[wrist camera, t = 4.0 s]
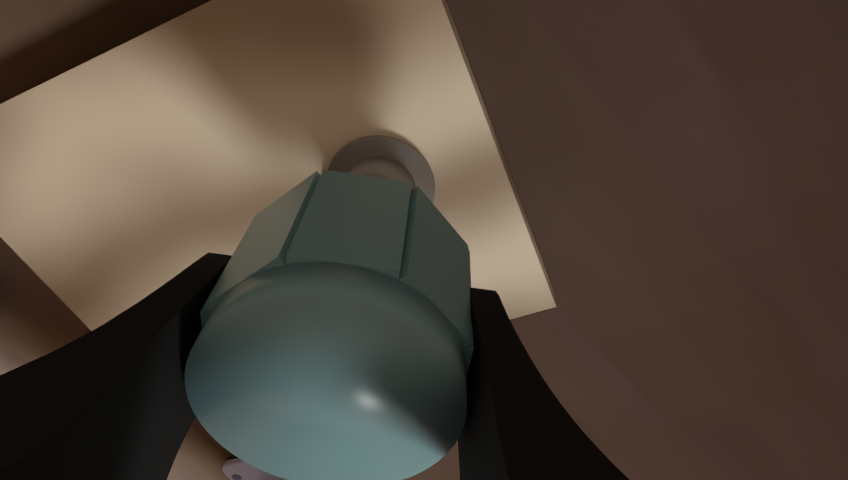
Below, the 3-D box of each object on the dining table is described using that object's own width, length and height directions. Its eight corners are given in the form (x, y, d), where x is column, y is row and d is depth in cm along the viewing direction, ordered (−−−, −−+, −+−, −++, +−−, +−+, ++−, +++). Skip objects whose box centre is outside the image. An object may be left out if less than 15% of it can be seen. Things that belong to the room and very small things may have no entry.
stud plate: (551, 286, 22) (569, 365, 18) (180, 391, 27) (137, 470, 23) (409, -98, 15) (394, -88, 12) (-59, 133, 20) (-172, 189, 16)
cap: (483, 192, 13) (493, 320, 10) (445, 356, 16) (442, 502, 13) (250, 158, 13) (168, 275, 9) (256, 331, 16) (197, 471, 12)
